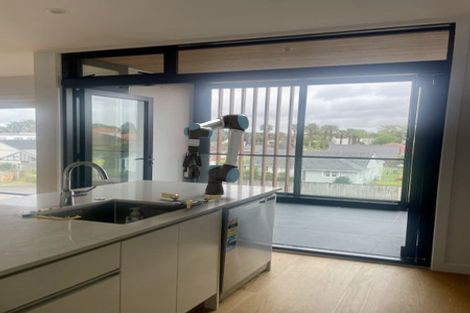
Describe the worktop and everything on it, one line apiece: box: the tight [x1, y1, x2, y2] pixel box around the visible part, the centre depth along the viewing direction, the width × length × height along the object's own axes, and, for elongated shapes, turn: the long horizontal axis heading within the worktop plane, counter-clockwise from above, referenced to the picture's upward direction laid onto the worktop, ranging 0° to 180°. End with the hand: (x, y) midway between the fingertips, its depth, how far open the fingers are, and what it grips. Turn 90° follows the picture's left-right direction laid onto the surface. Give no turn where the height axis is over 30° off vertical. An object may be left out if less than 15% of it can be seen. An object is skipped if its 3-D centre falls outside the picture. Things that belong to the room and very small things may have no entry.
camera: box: [182, 163, 201, 180], centre depth 248 cm, size 13×10×10 cm
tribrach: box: [174, 194, 223, 209], centre depth 244 cm, size 42×27×4 cm, turn 154°
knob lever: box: [161, 192, 180, 200], centre depth 252 cm, size 14×5×4 cm, turn 64°
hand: (191, 176), depth 247 cm, fingers closed on camera, 13 cm apart
